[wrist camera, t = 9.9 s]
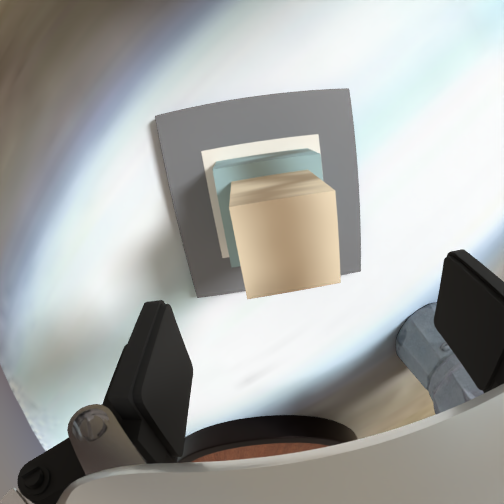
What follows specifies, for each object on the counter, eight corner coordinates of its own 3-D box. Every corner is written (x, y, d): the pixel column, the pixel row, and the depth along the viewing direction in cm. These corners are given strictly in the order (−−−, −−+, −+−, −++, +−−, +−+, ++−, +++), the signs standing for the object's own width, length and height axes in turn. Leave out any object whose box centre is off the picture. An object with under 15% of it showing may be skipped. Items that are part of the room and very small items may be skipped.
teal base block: (307, 148, 23) (320, 153, 19) (315, 232, 26) (328, 252, 22) (216, 161, 23) (212, 169, 19) (232, 245, 26) (231, 267, 22)
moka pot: (425, 271, 29) (543, 408, 11) (475, 327, 33) (554, 429, 15) (364, 335, 32) (438, 493, 14) (428, 375, 36) (487, 486, 18)
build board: (344, 89, 22) (349, 88, 21) (357, 266, 28) (360, 271, 27) (158, 115, 22) (154, 115, 21) (198, 292, 29) (197, 298, 28)
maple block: (308, 169, 20) (335, 190, 14) (315, 240, 22) (340, 282, 16) (231, 181, 20) (228, 207, 14) (244, 252, 22) (247, 299, 16)
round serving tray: (171, 502, 44) (170, 426, 32) (172, 486, 48) (174, 401, 36) (322, 506, 48) (398, 430, 36) (319, 491, 52) (390, 410, 40)
